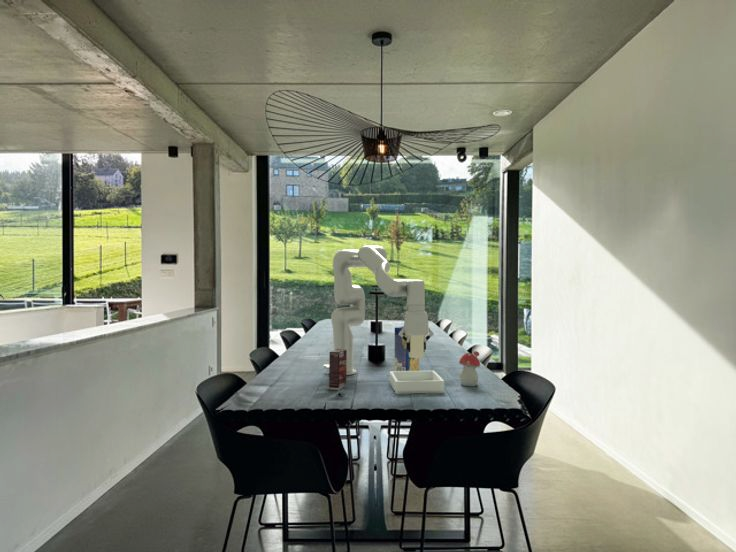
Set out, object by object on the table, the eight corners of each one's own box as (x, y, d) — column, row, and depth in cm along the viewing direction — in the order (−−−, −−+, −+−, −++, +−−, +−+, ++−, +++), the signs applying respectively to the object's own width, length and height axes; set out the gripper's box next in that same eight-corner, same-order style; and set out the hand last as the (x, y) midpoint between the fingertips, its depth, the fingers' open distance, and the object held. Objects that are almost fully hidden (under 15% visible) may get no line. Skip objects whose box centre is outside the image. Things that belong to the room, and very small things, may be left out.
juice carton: (410, 358, 227) (410, 334, 227) (408, 356, 232) (408, 332, 232) (423, 357, 227) (423, 334, 227) (421, 355, 233) (421, 332, 232)
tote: (395, 394, 218) (395, 381, 218) (389, 382, 240) (389, 371, 240) (444, 393, 220) (444, 380, 220) (434, 381, 242) (434, 370, 242)
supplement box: (339, 390, 225) (339, 352, 225) (328, 389, 227) (328, 351, 226) (347, 386, 233) (347, 349, 233) (336, 385, 235) (336, 348, 234)
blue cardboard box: (418, 371, 266) (418, 326, 266) (406, 374, 258) (406, 328, 257) (407, 369, 270) (407, 325, 270) (394, 373, 262) (394, 327, 261)
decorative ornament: (482, 385, 233) (482, 351, 233) (473, 388, 229) (473, 352, 229) (465, 382, 240) (465, 348, 240) (456, 384, 236) (456, 350, 236)
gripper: (396, 309, 225) (397, 353, 225) (437, 309, 226) (437, 352, 226) (394, 308, 233) (395, 350, 233) (434, 308, 234) (434, 349, 234)
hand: (416, 351), depth 230 cm, fingers closed on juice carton, 5 cm apart
